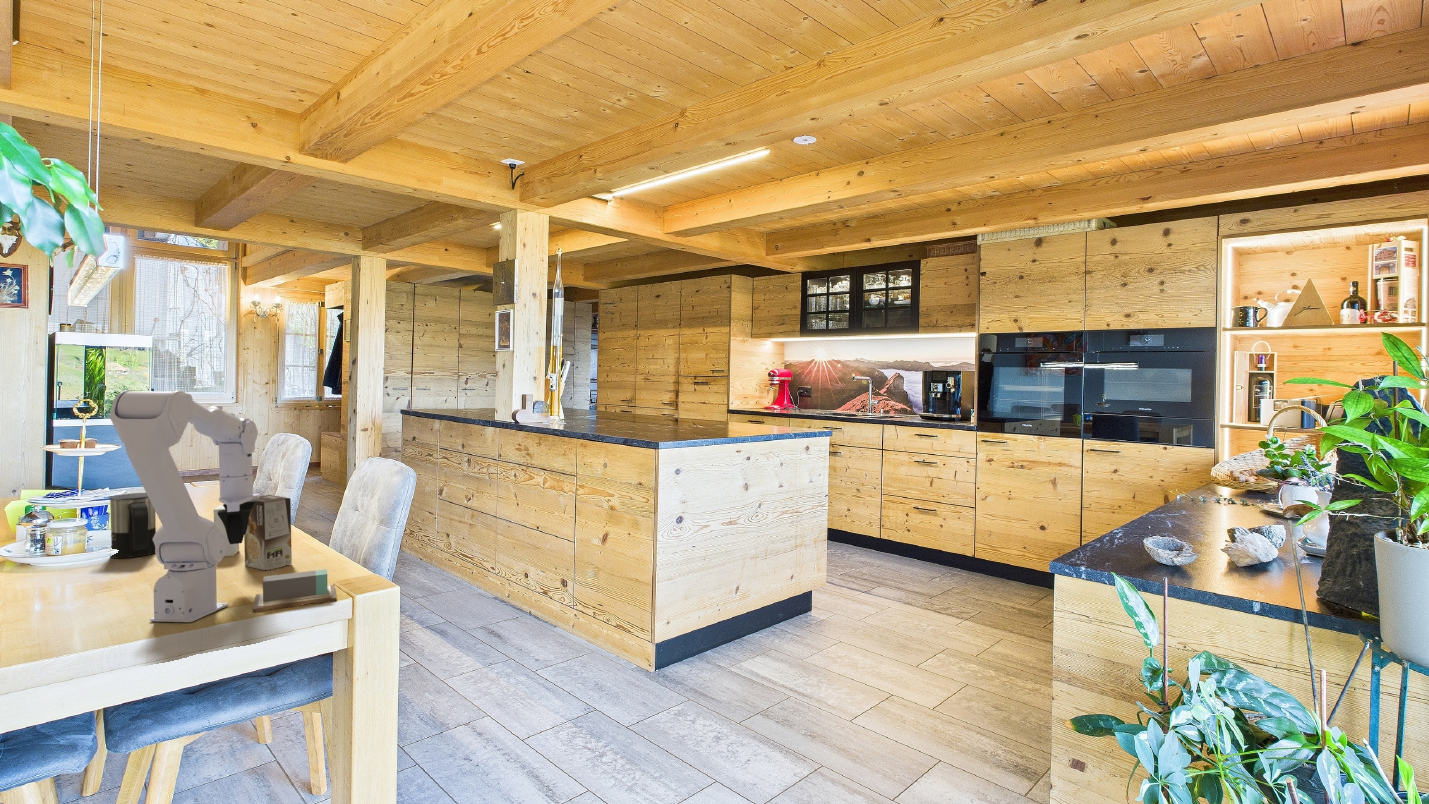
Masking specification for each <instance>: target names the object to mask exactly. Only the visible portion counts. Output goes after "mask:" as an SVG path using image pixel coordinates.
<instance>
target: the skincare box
mask: <svg viewBox="0 0 1429 804" xmlns="http://www.w3.org/2000/svg"><path fill="white" fill-rule="evenodd" d="M219 510H226V509H225V508H224V506H223V504H219V505H218V506H216V507H215V508H214V509H213V522H215V523H216V525H217V527H218V529H219V530H221V531H222V532H223V533H224V534H225V536H226V538H227V542H228V547H227V551H226V554H225V556H226V557H235V555H236V554H237V553H238V552H239V551H240V543H239V544H230V543H229V541H228V537H227V533H226V529H225V526H224V524H223V522H222V520H221V519H220V518H219V516H218V511H219ZM225 556H224V557H223V558H225Z"/></svg>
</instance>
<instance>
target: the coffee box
mask: <svg viewBox="0 0 1429 804" xmlns="http://www.w3.org/2000/svg"><path fill="white" fill-rule="evenodd" d="M252 500H255V503H254V505H253V507H252V509H251V512H250V515H249V520H248V526H247V531H246V534H245V535H244V537H243V541H244V545H243V546H244V566H245V567H248V568H253V569H258V570H262V571H265V570H267V571H271V570H275V568H276V569H280V568H283V566H284V567H286V566H285V565H289V566H291V565H292V563H293V562H292V560H293V559H292V558H293V557H292V555H293V553H292V552H293V551H292V511H291V510H292V507H291V501H292V500H291V497H285V496H278V495H272V494H266V495H260V497H259V498H256V499H252ZM290 564H291V565H290ZM279 567H280V568H279ZM270 569H271V570H270Z"/></svg>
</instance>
